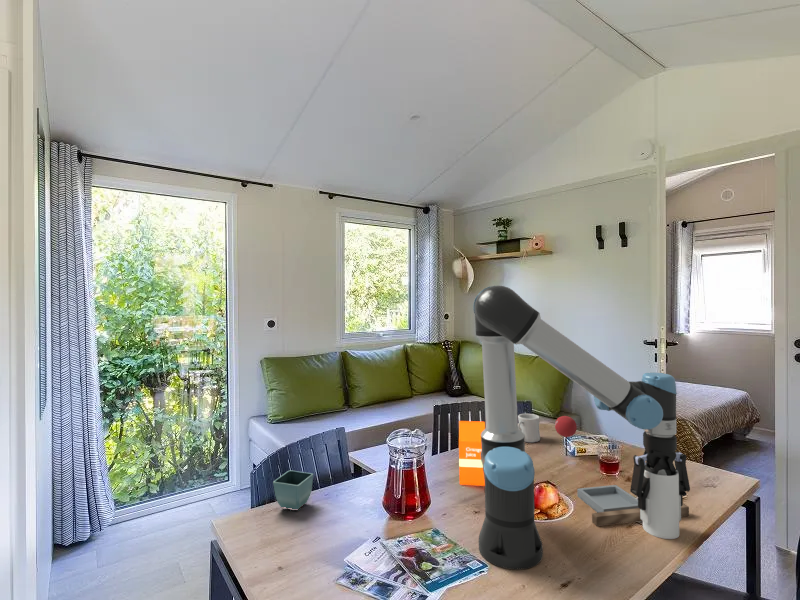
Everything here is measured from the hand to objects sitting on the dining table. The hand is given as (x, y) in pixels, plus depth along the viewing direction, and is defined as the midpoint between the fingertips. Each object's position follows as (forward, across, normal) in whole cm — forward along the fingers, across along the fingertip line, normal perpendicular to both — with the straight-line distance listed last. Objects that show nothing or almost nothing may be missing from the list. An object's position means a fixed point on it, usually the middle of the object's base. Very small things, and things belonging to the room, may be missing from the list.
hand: (660, 519), depth 113 cm
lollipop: (+3, +4, +53) cm, 53 cm away
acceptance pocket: (+3, -4, +15) cm, 16 cm away
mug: (+3, -3, +72) cm, 72 cm away
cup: (+3, 0, 0) cm, 3 cm away
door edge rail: (+3, -1, +6) cm, 7 cm away
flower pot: (+3, -96, +32) cm, 101 cm away
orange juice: (+3, -38, +39) cm, 55 cm away
